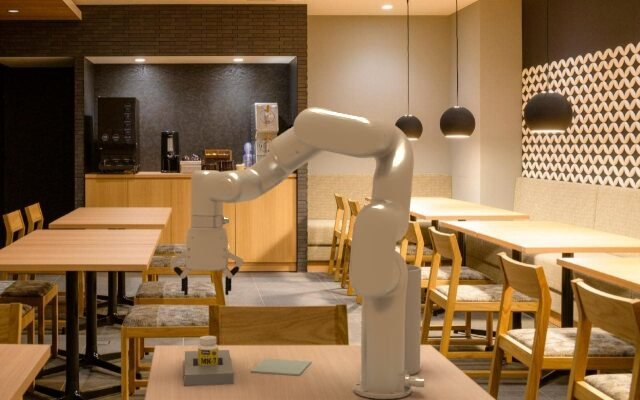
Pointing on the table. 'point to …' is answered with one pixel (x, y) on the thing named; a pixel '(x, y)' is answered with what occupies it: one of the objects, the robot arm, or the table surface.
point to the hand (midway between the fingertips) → (206, 294)
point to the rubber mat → (281, 367)
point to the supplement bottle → (207, 351)
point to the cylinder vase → (413, 320)
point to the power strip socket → (208, 370)
